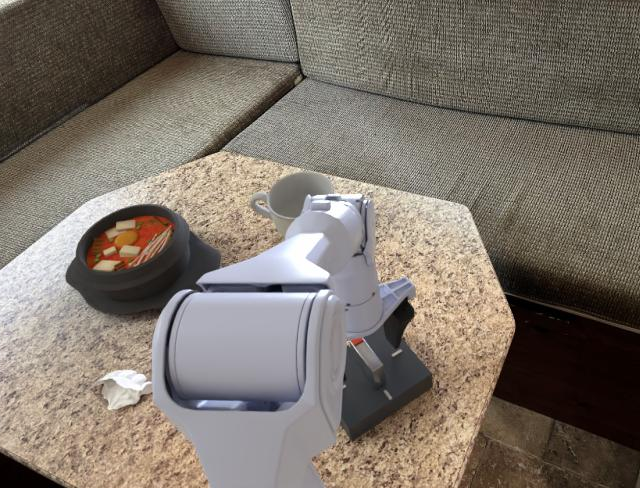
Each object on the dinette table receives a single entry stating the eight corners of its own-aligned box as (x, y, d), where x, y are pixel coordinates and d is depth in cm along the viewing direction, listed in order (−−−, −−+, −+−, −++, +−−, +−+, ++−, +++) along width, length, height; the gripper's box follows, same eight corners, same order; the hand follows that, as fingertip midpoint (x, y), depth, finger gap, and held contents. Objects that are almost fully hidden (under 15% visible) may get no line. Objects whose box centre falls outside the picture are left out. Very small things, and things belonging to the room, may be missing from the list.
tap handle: (386, 383, 74) (383, 363, 71) (375, 390, 73) (371, 370, 71) (363, 352, 78) (359, 332, 75) (352, 358, 77) (348, 338, 74)
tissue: (115, 365, 83) (104, 348, 80) (159, 385, 80) (149, 369, 77) (83, 399, 79) (71, 383, 77) (129, 422, 76) (117, 406, 74)
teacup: (350, 211, 103) (343, 174, 98) (327, 257, 95) (318, 220, 90) (275, 201, 106) (265, 165, 101) (247, 244, 99) (235, 208, 93)
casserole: (245, 245, 98) (232, 207, 93) (181, 338, 85) (161, 300, 80) (119, 222, 106) (100, 185, 100) (42, 304, 92) (15, 267, 87)
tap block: (352, 441, 72) (348, 428, 70) (312, 381, 78) (308, 368, 76) (433, 386, 76) (432, 372, 74) (389, 334, 83) (387, 320, 81)
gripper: (387, 234, 70) (397, 309, 79) (275, 295, 65) (299, 368, 73) (423, 270, 66) (429, 345, 74) (305, 339, 60) (327, 411, 69)
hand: (367, 359), depth 74 cm, fingers open, 7 cm apart
